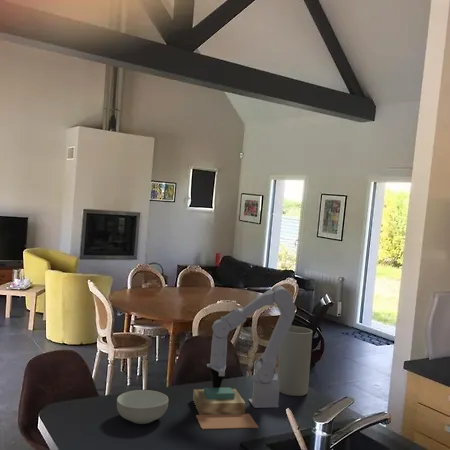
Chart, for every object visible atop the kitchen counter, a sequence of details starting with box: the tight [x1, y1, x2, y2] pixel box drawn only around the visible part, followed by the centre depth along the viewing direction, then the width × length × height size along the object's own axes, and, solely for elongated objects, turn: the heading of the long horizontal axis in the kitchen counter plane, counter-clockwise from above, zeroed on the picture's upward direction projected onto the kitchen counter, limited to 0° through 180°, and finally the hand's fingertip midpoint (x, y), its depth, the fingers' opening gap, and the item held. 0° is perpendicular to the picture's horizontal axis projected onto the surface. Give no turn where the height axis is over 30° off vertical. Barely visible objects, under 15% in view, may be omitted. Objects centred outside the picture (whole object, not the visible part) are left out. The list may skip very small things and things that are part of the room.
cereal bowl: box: [116, 389, 169, 425], centre depth 173 cm, size 17×17×7 cm
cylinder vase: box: [277, 325, 313, 397], centre depth 211 cm, size 12×12×25 cm
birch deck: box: [192, 388, 246, 415], centre depth 188 cm, size 16×14×4 cm
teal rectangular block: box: [203, 387, 235, 399], centre depth 188 cm, size 10×6×2 cm, turn 103°
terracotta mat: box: [195, 413, 259, 430], centre depth 176 cm, size 19×11×1 cm, turn 103°
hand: (216, 389), depth 193 cm, fingers closed
